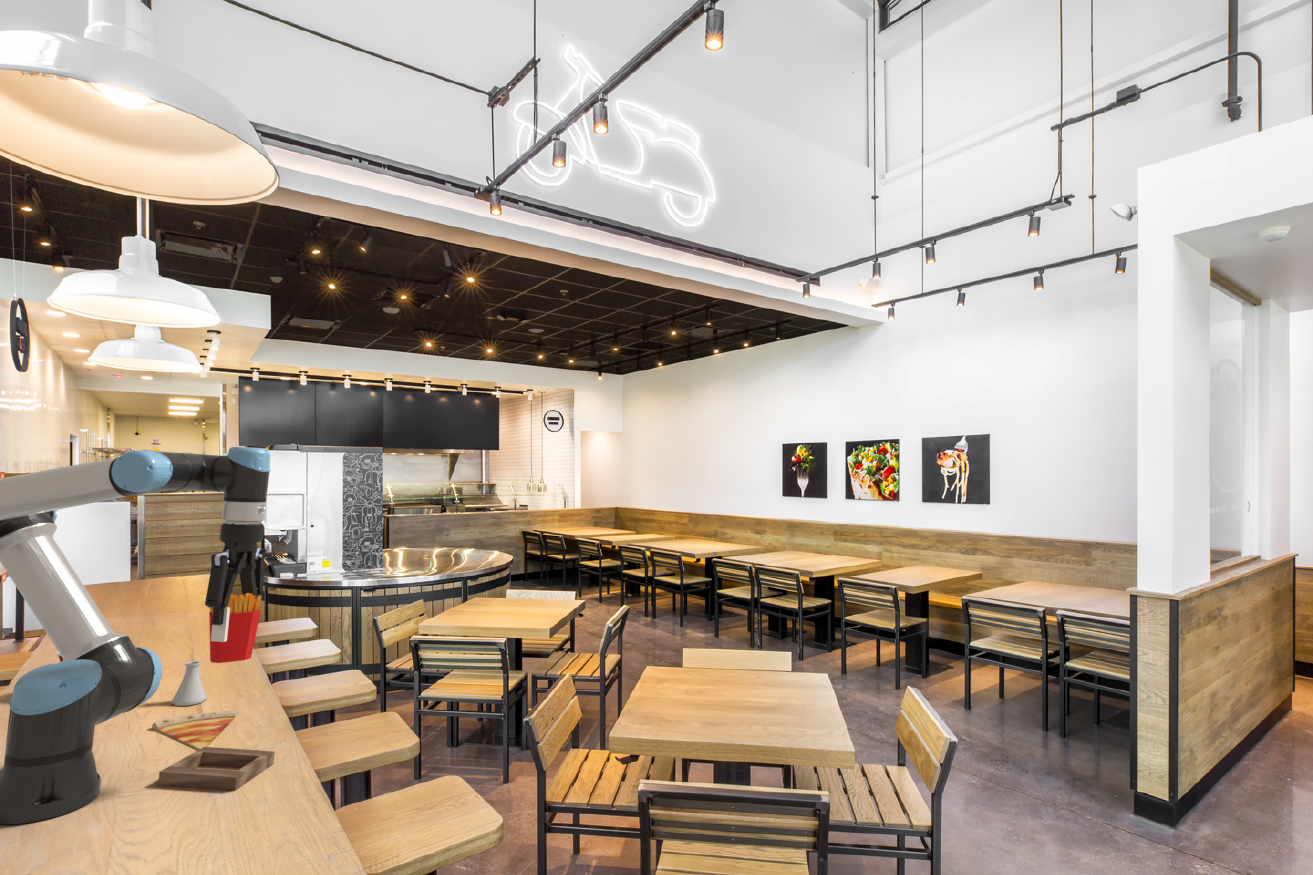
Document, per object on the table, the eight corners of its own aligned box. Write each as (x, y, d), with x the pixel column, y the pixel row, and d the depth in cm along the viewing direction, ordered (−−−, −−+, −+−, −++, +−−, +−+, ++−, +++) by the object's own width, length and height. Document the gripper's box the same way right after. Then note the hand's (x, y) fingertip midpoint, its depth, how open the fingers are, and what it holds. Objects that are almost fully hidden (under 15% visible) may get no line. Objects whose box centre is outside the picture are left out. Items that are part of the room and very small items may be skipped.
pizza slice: (116, 759, 136) (117, 749, 136) (164, 720, 157) (165, 711, 157) (202, 754, 140) (203, 744, 140) (238, 717, 161) (239, 709, 161)
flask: (187, 708, 164) (191, 667, 165) (164, 704, 166) (168, 664, 166) (213, 699, 171) (217, 660, 172) (190, 696, 173) (194, 657, 173)
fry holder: (235, 790, 124) (236, 776, 124) (158, 785, 125) (159, 771, 125) (273, 763, 136) (274, 751, 136) (203, 758, 137) (204, 746, 137)
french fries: (253, 653, 137) (260, 590, 137) (257, 658, 133) (263, 594, 134) (200, 659, 131) (207, 593, 131) (202, 665, 127) (209, 597, 128)
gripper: (228, 526, 124) (215, 649, 122) (289, 520, 144) (279, 627, 142) (189, 524, 124) (176, 647, 123) (256, 518, 144) (245, 624, 142)
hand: (231, 636), depth 132 cm, fingers closed on french fries, 7 cm apart
